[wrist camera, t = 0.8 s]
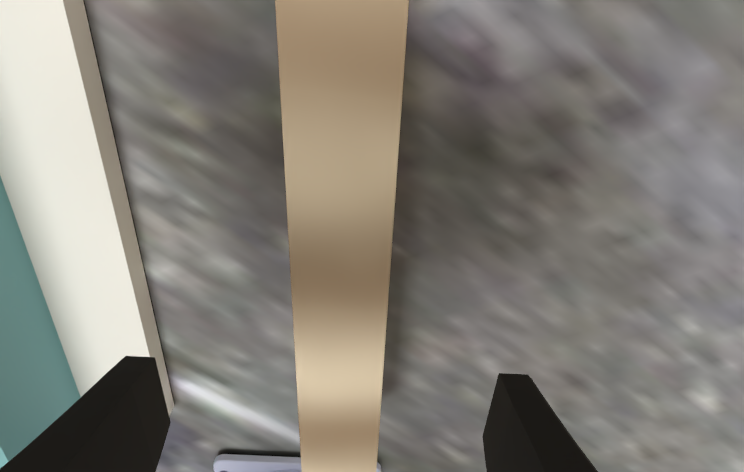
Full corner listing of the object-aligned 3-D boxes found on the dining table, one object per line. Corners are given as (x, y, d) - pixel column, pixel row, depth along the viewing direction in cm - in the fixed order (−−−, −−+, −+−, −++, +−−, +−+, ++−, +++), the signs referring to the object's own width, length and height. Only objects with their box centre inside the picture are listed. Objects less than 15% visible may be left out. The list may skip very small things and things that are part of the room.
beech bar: (376, 393, 22) (375, 476, 19) (313, 390, 22) (301, 473, 19) (406, -85, 13) (415, -90, 10) (298, -90, 13) (270, -97, 10)
